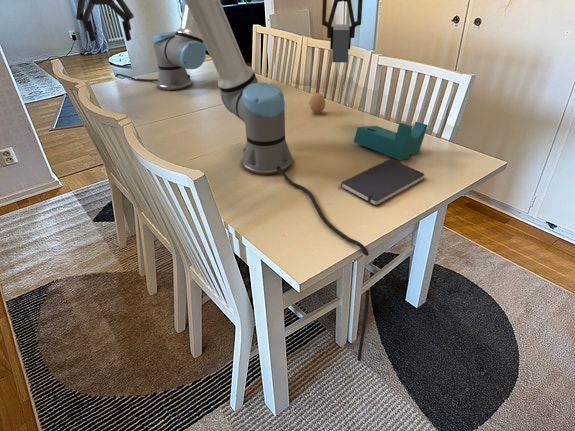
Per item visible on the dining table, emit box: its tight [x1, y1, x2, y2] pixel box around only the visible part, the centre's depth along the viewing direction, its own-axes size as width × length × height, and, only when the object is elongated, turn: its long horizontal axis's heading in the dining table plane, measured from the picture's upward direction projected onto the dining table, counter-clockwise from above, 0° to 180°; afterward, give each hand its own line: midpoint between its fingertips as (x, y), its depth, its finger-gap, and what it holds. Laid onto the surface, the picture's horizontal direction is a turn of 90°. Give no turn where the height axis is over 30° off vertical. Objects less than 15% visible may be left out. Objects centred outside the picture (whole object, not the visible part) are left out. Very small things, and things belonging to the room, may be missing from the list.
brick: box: [331, 23, 350, 63], centre depth 133 cm, size 9×5×10 cm, turn 175°
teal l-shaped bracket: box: [353, 121, 428, 161], centre depth 129 cm, size 18×11×10 cm, turn 43°
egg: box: [309, 92, 326, 114], centre depth 156 cm, size 6×6×8 cm
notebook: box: [340, 158, 425, 206], centre depth 114 cm, size 13×2×21 cm
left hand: (111, 40), depth 149 cm, fingers open, 13 cm apart
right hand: (340, 48), depth 134 cm, fingers closed on brick, 5 cm apart
